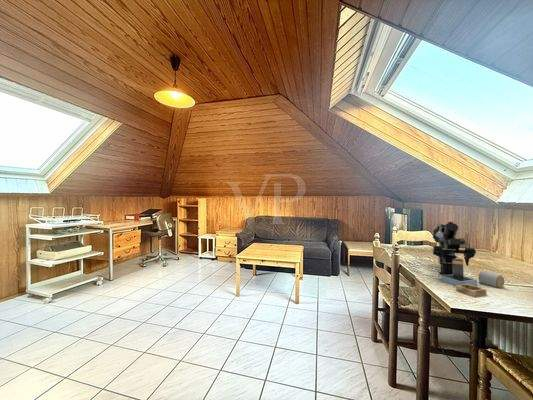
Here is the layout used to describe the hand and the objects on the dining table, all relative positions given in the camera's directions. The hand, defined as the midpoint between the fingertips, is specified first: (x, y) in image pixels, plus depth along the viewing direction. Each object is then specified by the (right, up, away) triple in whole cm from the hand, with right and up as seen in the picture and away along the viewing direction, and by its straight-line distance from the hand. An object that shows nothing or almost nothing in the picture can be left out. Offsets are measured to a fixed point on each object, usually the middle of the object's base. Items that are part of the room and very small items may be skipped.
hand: (456, 264), depth 125 cm
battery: (-1, -10, -2) cm, 10 cm away
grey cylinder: (+16, -11, -3) cm, 20 cm away
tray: (-1, -11, -2) cm, 11 cm away
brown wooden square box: (-5, -10, -14) cm, 19 cm away
